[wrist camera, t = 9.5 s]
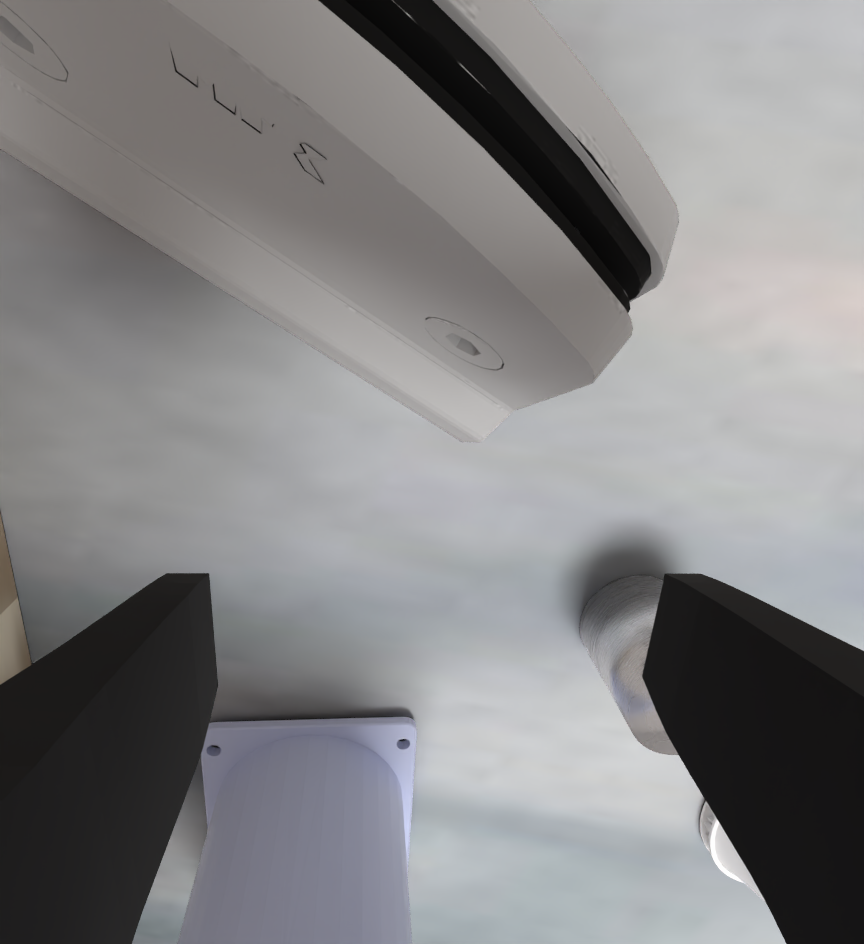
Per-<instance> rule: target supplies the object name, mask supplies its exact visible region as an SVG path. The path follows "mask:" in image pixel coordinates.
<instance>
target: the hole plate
mask: <svg viewBox="0 0 864 944" xmlns="http://www.w3.org/2000/svg"><path fill="white" fill-rule="evenodd" d="M30 665H32V664H31V659H30V654H29V649H28V644H27V639H26V635H25V630H24V625H23V620H22V615H21V610H20V606H19V601H18V596H17V591H16V586H15V581H14V577H13V572H12V567H11V562H10V557H9V553H8V548H7V543H6V538H5V533H4V528H3V524H2V519H1V514H0V684H2V683H4V682H5V681H7V680H8V679H10V678H11V677H13V676H15V675H16V674H18V673H19V672H21V671H22V670H24V669H26V668H27V667H29V666H30Z"/></svg>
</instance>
